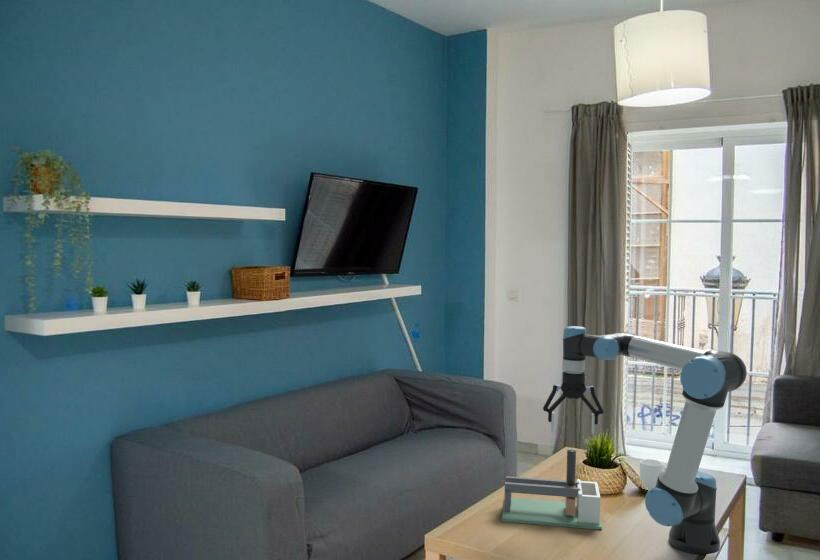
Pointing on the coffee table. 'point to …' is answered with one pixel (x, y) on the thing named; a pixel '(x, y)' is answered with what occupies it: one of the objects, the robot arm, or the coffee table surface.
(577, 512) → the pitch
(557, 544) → the coffee table surface
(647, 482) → the mug
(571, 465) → the post
